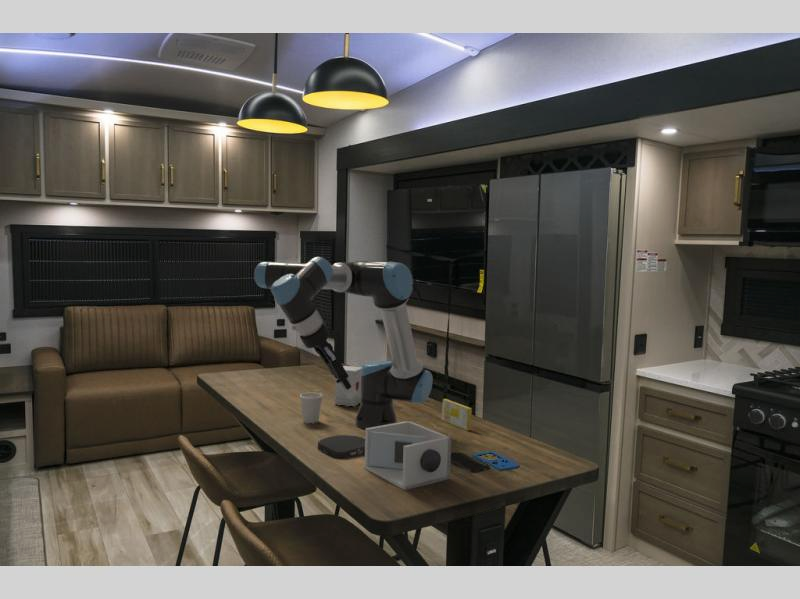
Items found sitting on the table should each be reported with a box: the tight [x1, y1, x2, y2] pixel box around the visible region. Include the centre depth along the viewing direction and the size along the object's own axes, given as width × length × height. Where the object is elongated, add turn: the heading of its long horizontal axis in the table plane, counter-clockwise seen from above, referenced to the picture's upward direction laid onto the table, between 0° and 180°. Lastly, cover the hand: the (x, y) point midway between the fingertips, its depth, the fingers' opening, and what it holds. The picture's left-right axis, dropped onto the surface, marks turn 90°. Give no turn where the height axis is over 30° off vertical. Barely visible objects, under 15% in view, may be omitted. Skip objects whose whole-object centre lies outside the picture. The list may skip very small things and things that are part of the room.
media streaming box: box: [317, 434, 365, 459], centre depth 204 cm, size 15×15×3 cm
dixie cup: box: [299, 391, 323, 424], centre depth 234 cm, size 8×8×10 cm
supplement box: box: [334, 365, 363, 407], centre depth 260 cm, size 9×9×15 cm
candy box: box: [441, 398, 473, 432], centre depth 234 cm, size 16×2×8 cm, turn 31°
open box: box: [364, 420, 452, 491], centre depth 182 cm, size 16×22×12 cm
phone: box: [450, 451, 491, 474], centre depth 193 cm, size 8×1×15 cm
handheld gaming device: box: [471, 450, 520, 472], centre depth 196 cm, size 8×1×15 cm
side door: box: [369, 431, 426, 469], centre depth 183 cm, size 2×16×10 cm, turn 75°
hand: (353, 395), depth 176 cm, fingers closed
